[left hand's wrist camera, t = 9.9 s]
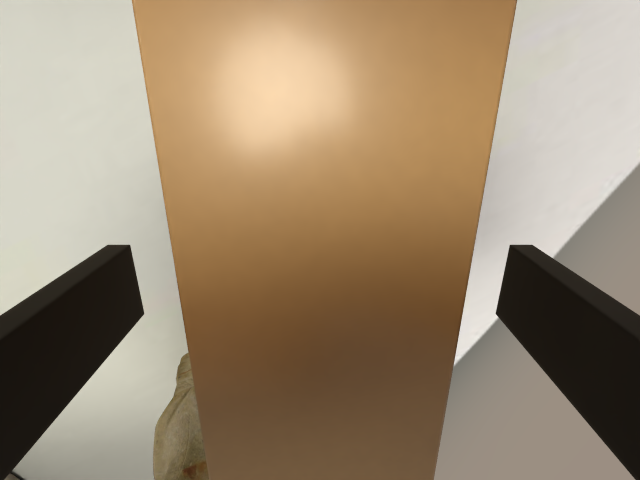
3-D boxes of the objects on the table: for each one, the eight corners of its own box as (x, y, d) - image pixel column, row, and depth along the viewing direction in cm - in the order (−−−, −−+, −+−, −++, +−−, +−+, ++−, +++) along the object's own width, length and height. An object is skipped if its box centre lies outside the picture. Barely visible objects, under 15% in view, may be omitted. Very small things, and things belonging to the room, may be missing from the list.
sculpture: (218, 399, 32) (136, 633, 18) (180, 335, 29) (50, 548, 15) (278, 382, 31) (243, 612, 17) (245, 315, 28) (171, 519, 14)
